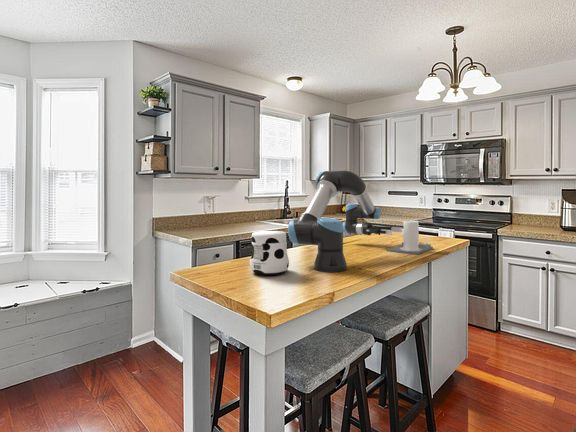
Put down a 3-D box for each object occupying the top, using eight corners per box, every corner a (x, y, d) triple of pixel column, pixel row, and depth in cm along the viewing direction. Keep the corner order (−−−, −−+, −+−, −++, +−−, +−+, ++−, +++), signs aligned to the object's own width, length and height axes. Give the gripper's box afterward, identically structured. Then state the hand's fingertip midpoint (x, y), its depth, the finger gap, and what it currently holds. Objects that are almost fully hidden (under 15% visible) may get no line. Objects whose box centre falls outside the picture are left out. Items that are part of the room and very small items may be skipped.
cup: (403, 249, 200) (403, 222, 199) (403, 247, 208) (403, 220, 207) (418, 250, 198) (419, 222, 197) (417, 247, 206) (418, 220, 204)
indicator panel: (417, 254, 192) (417, 247, 192) (386, 251, 204) (386, 244, 204) (432, 248, 210) (433, 242, 210) (403, 245, 222) (404, 239, 222)
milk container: (288, 267, 166) (287, 230, 165) (289, 277, 149) (289, 235, 148) (251, 268, 166) (250, 230, 164) (249, 278, 148) (247, 236, 147)
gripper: (374, 232, 232) (405, 235, 218) (354, 236, 213) (387, 240, 199) (374, 221, 231) (405, 223, 217) (354, 224, 213) (387, 226, 198)
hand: (396, 231), depth 208 cm, fingers open, 13 cm apart
